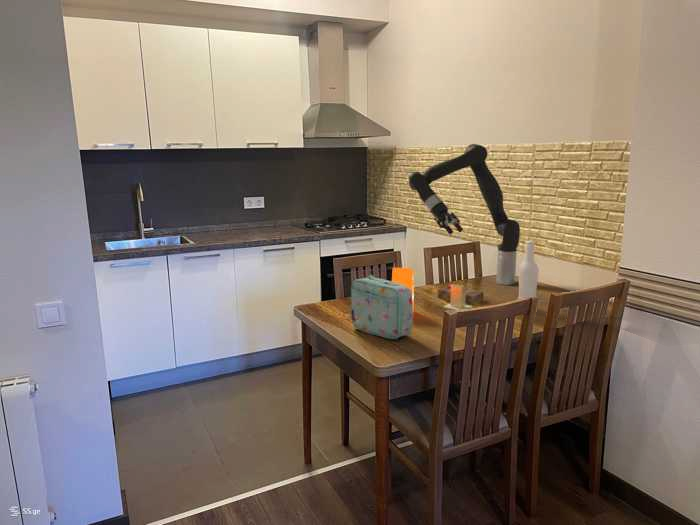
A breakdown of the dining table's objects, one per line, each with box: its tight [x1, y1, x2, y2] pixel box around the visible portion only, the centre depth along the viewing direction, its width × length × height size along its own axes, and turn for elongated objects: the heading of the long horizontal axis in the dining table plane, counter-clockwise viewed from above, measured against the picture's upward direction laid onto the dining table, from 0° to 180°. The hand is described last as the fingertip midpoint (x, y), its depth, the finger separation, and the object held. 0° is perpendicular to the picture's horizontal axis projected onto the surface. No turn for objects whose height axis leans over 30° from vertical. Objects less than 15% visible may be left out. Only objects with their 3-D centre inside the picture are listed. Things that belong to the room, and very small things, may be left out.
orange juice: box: [391, 267, 415, 312], centre depth 212 cm, size 8×9×20 cm
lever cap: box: [449, 283, 467, 308], centre depth 219 cm, size 6×3×10 cm, turn 47°
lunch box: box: [349, 275, 414, 340], centre depth 189 cm, size 27×10×21 cm, turn 45°
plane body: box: [437, 282, 484, 306], centre depth 232 cm, size 18×10×6 cm, turn 47°
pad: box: [442, 303, 474, 311], centre depth 220 cm, size 10×8×1 cm
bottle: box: [517, 240, 539, 300], centre depth 212 cm, size 8×8×30 cm
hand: (456, 232), depth 232 cm, fingers open, 8 cm apart
